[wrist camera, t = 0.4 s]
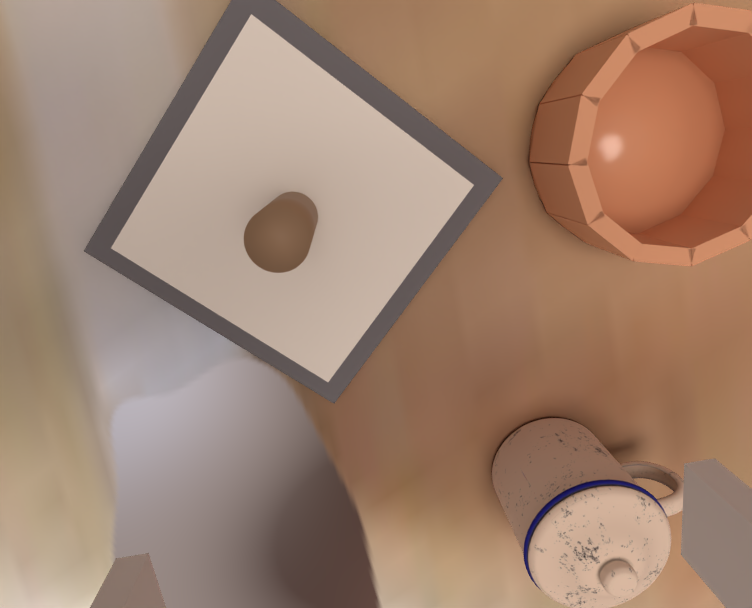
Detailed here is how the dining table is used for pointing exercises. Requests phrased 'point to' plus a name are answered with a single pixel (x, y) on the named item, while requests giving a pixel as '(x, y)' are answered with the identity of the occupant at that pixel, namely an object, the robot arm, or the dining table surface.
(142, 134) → the dining table surface
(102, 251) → the mat
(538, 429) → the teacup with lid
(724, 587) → the robot arm
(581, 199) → the bowl
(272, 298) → the lid
